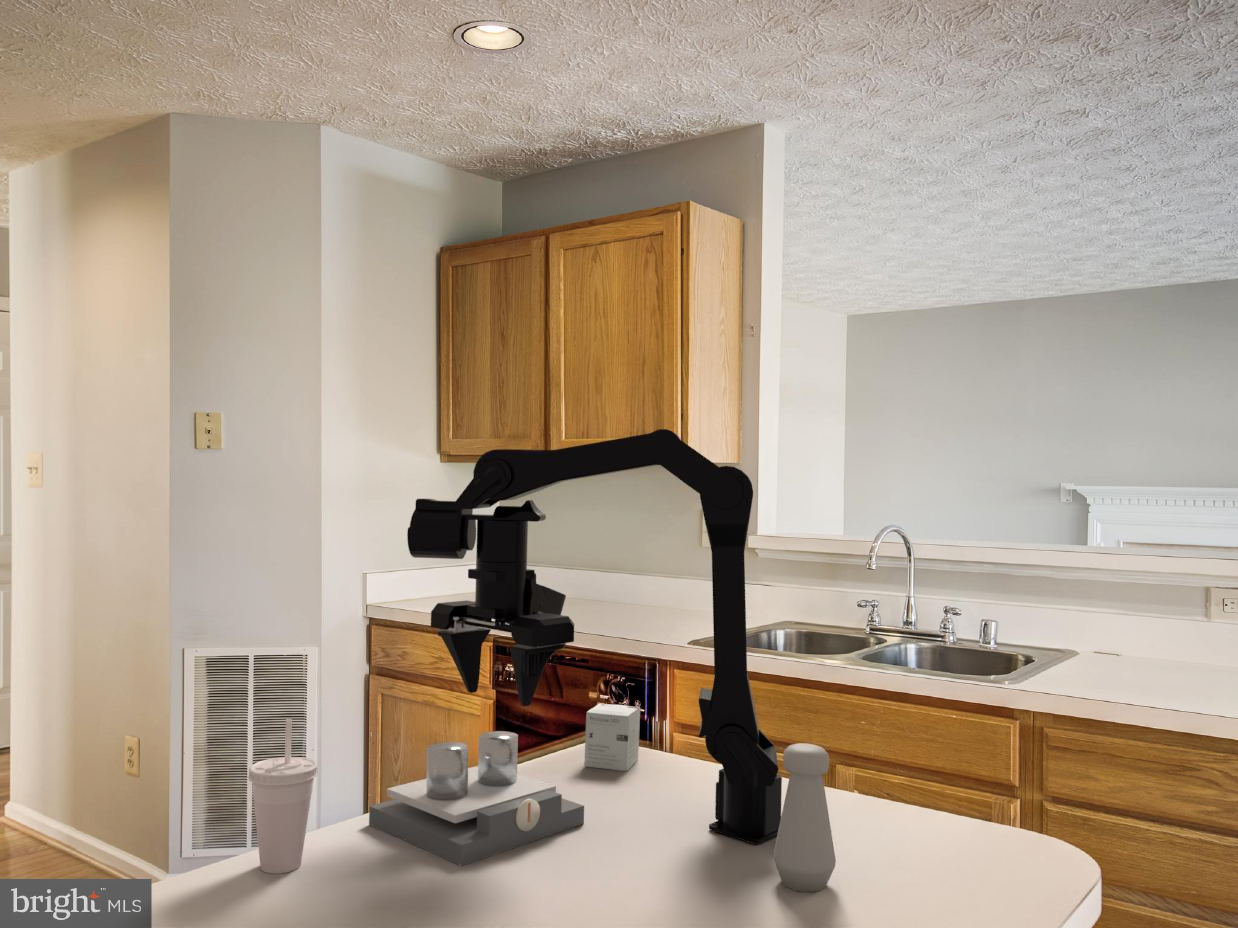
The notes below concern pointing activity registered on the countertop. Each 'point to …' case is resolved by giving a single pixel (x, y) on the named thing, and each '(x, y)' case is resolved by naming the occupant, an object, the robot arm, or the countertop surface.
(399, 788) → the scale
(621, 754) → the skincare box
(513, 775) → the cylinder
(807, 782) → the salt shaker
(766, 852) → the countertop surface
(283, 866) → the smoothie
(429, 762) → the cylinder
